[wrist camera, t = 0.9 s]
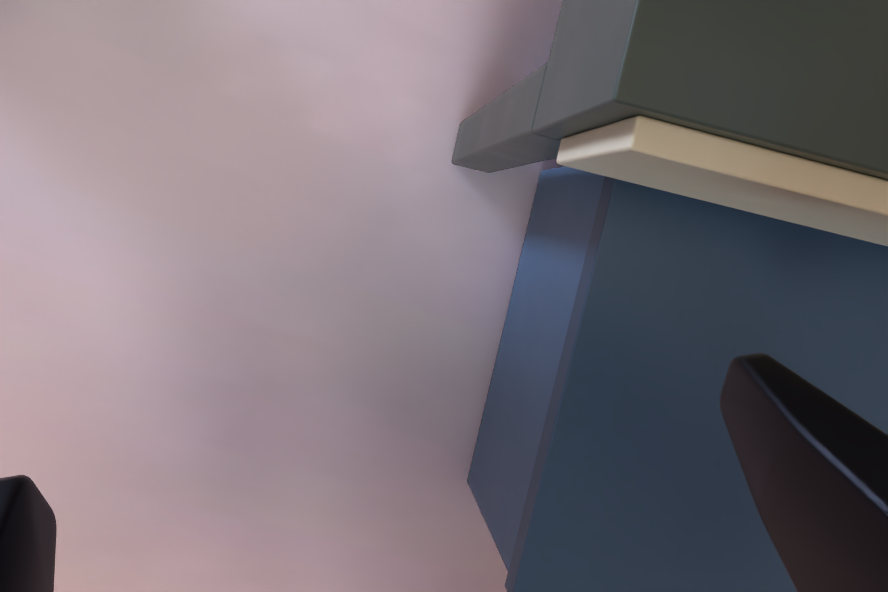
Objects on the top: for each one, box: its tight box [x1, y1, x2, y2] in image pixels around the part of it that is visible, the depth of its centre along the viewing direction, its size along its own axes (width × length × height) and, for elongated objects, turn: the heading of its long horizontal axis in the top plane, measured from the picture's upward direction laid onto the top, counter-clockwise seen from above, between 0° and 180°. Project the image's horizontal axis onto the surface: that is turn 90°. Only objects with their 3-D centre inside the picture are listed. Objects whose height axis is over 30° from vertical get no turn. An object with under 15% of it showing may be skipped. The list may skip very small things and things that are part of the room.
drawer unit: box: [452, 0, 888, 246], centre depth 19 cm, size 12×15×16 cm
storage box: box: [467, 166, 888, 592], centre depth 23 cm, size 11×9×8 cm
